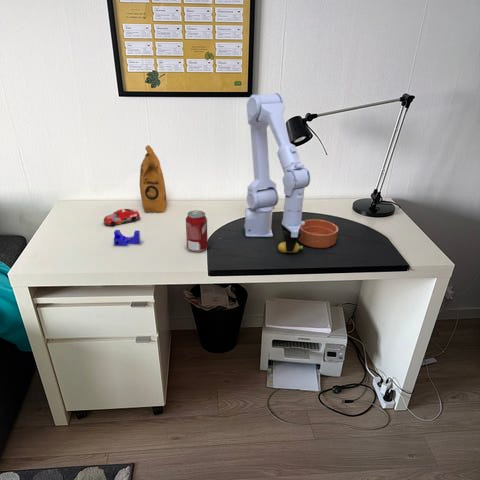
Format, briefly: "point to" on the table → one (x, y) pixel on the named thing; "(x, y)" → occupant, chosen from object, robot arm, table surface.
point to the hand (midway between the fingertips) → (288, 248)
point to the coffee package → (152, 183)
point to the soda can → (196, 231)
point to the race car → (122, 217)
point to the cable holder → (126, 238)
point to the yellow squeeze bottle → (283, 248)
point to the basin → (318, 233)
